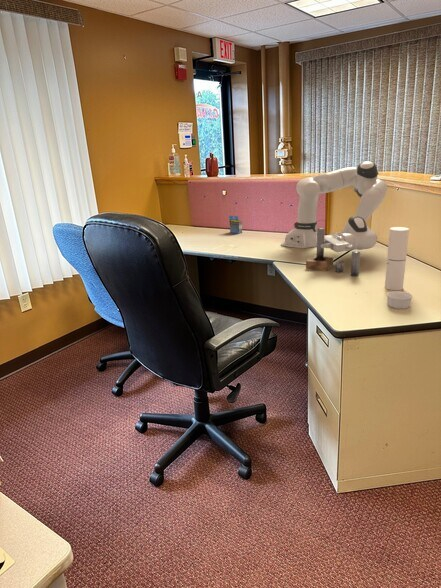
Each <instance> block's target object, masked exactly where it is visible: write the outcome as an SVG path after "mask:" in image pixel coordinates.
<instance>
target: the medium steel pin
mask: <svg viewBox="0 0 441 588" xmlns="http://www.w3.org/2000/svg"><path fill="white" fill-rule="evenodd" d="M360 258H361V251H359V250H352V251H351V260H350V261H351V263H350V276H352V277H358V276H359V273H360V272H359V271H360V260H361V259H360Z"/></svg>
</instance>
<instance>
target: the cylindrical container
mask: <svg viewBox="0 0 441 588" xmlns="http://www.w3.org/2000/svg"><path fill="white" fill-rule="evenodd" d="M409 233H410V228H408V227H404V226H393V227H392V226H391V227H390V228H389V233H388V245H387V246H388V247H387V254H386V255H387V257H386V269H385V281H384V288H385V289H387V290H389V291H401V290H403V288H404V282H405V281H404V280H405V272H406V261H407V252H408V243H409Z"/></svg>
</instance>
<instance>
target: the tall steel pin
mask: <svg viewBox="0 0 441 588" xmlns="http://www.w3.org/2000/svg"><path fill="white" fill-rule="evenodd" d="M325 230H326V228H324V227H317V231H316V232H317V246H316V255H315V256H316V261H323V260H324V257H325V255H324V254H325V248H321V247H320V244H324V235H325V233H326V231H325Z"/></svg>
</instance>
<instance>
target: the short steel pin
mask: <svg viewBox="0 0 441 588" xmlns="http://www.w3.org/2000/svg"><path fill="white" fill-rule="evenodd" d="M335 273H338V274H341V273H344V262H343V261H336V262H335Z"/></svg>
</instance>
